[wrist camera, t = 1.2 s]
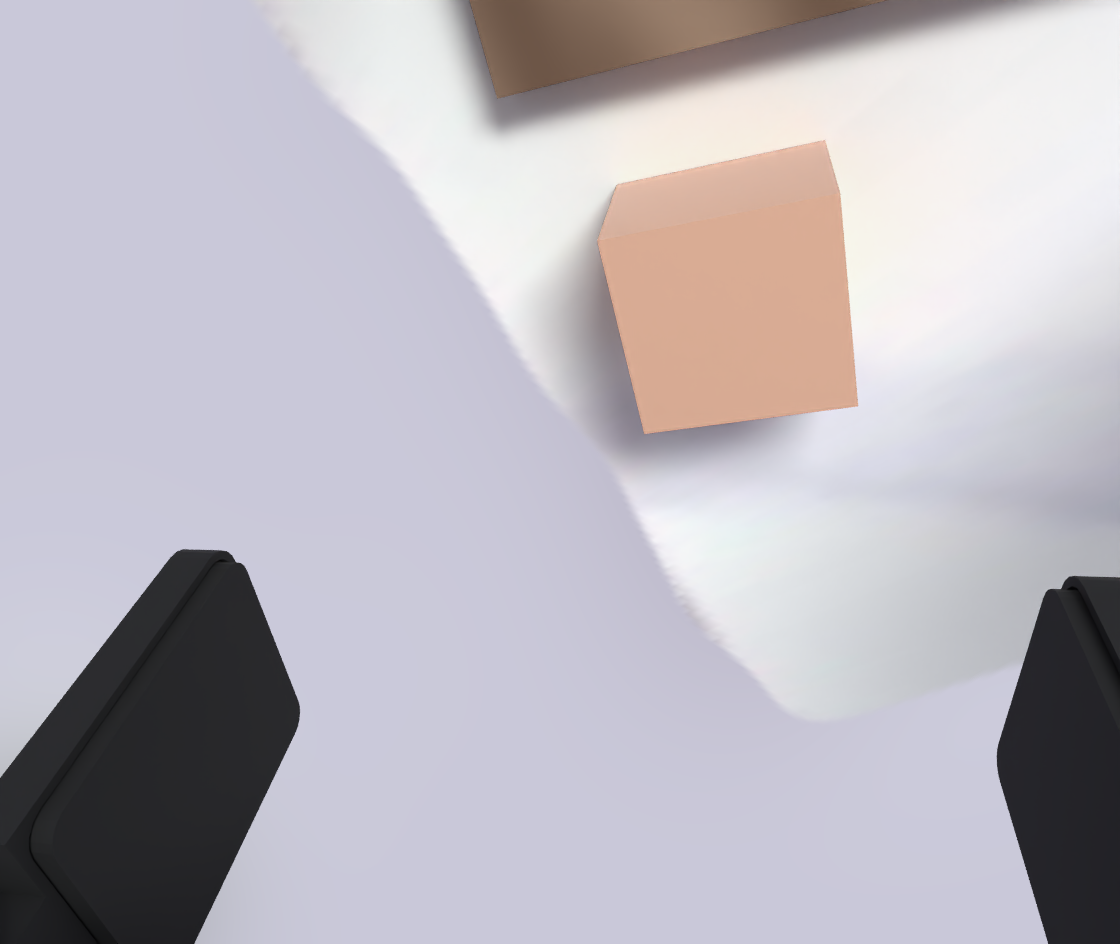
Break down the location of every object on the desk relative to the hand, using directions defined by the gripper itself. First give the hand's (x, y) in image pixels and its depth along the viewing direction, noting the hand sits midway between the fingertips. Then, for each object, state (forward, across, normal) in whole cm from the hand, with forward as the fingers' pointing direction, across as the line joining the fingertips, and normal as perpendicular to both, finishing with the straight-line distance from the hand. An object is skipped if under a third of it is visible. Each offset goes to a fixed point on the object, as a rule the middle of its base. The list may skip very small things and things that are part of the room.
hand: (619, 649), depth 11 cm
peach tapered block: (+21, -2, +4) cm, 22 cm away
